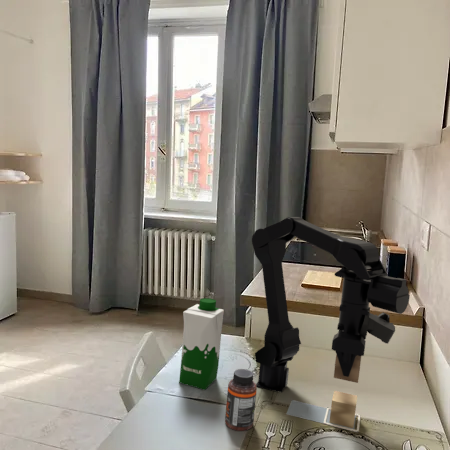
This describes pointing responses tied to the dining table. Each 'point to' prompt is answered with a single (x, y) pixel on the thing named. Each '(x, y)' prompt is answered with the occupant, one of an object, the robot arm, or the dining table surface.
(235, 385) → the supplement bottle
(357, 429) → the outline
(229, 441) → the dining table surface
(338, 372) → the walnut block
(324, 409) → the mat
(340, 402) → the oak block
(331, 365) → the dining table surface
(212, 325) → the milk carton
